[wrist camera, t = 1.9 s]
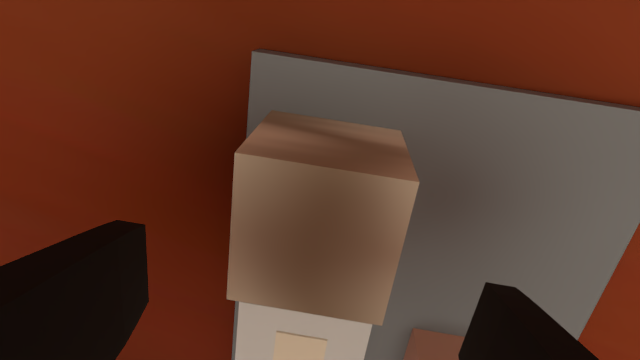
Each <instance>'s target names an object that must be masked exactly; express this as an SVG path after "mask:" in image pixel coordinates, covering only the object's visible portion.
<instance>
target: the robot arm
mask: <svg viewBox="0 0 640 360" xmlns="http://www.w3.org/2000/svg"><path fill="white" fill-rule="evenodd" d="M148 302H149V297H148V275H147V254H146V232H145V225H144V224H138V223H132V222H126V221H120V220H116V221H113V222H110V223H107V224H104V225H101V226H98V227H96V228H93V229H91V230H88V231H86V232H83V233H81V234H78V235H76V236H73V237H71V238H68V239H66V240H64V241H61V242H59V243H56V244H54V245H51V246H49V247H47V248H44V249H42V250H39V251H37V252H34V253H32V254H30V255H27V256H25V257H22V258H20V259H17V260H15V261H12V262H10V263H8V264H5V265H3V266H0V360H115V359H116V357H117V356H118V355H119V353H120V352H121V350H122V349H123V347H124V346H125V344H126V343H127V341H128V339H129V337H130V335H131V334H132V332H133V330H134V328H135V326H136V325H137V323H138V321H139V319H140V317H141V315H142V313H143V311H144V309H145V307H146V305H147V303H148ZM458 357H459V360H599V359H598V358H597V357H595V356H594V355H593V354H592V353H591V352H590V351H589V350H588V349H586V348H585V347H584V346H583V345H582V344H581V343H580V342H579V341H577V340H576V339H575V338H574V337H573V336H572V335H571V334H570V333H568V332H567V331H566V330H565V329H564V328H563V327H562V326H561V325H560V324H558V323H557V322H556V321H555V320H554V319H553V318H552V317H551V316H549V315H548V314H547V313H546V312H545V311H544V310H543V309H541V308H540V307H539V306H538V305H537V304H536V303H535V302H533V301H532V300H531V299H530V298H529V297H527V296H526V295H525V294H524V293H522V292H521V291H520V290H519V289H517V288H516V287H512V286H506V285H500V284H494V283H488V282H486V283H485V285H484V288H483V291H482V293H481V296H480V298H479V301H478V304H477V306H476V309H475V312H474V314H473V317H472V320H471V322H470V325H469V328H468V330H467V333H466V335H465V338H464V341H463V343H462V346H461V349H460V351H459V354H458Z"/></svg>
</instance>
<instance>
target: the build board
mask: <svg viewBox="0 0 640 360" xmlns="http://www.w3.org/2000/svg"><path fill="white" fill-rule="evenodd" d="M271 110H274V111H280V112H287V113H293V114H299V115H306V116H312V117H318V118H325V119H331V120H337V121H344V122H350V123H356V124H363V125H369V126H375V127H382V128H388V129H394V130H401V132H402V135H403V138H404V141H405V143H406V146H407V149H408V152H409V154H410V157H411V160H412V163H413V166H414V168H415V171H416V174H417V177H418V179H419V182H420V183H419V186H418V190H417V194H416V198H415V202H414V206H413V209H412V213H411V217H410V221H409V225H408V229H407V232H406V236H405V240H404V244H403V248H402V252H401V255H400V259H399V263H398V267H397V271H396V275H395V278H394V282H393V286H392V290H391V294H390V298H389V301H388V305H387V309H386V313H385V317H384V320H383V324H382V326H380V325H374V324H372V328H371V332H370V336H369V340H368V345H367V349H366V353H365V357H364V360H403V359H404V355H405V352H406V349H407V346H408V342H409V339H410V336H411V332H412V329H413V328H416V329H422V330H427V331H433V332H439V333H445V334H451V335H457V336H463V337H465V335H466V333H467V330H468V328H469V325H470V322H471V320H472V317H473V314H474V312H475V309H476V306H477V304H478V301H479V298H480V296H481V293H482V291H483V288H484V285H485V283H486V282H488V283H494V284H500V285H506V286H512V287H516V288H517V289H519V290H520V291H521V292H522V293H524V294H525V295H526V296H527V297H529V298H530V299H531V300H532V301H533V302H535V303H536V304H537V305H538V306H539V307H540V308H541V309H543V310H544V311H545V312H546V313H547V314H548V315H549V316H551V317H552V318H553V319H554V320H555V321H556V322H557V323H558V324H560V325H561V326H562V327H563V328H564V329H565V330H566V331H567V332H568V333H570V334H571V335H572V336H573V337H574V338H575V339H576V340H578V338H579V336H580V334H581V332H582V331H583V329H584V327H585V325H586V323H587V321H588V319H589V317H590V315H591V313H592V312H593V310H594V308H595V306H596V304H597V302H598V300H599V298H600V296H601V295H602V293H603V291H604V289H605V287H606V285H607V283H608V281H609V279H610V278H611V276H612V274H613V272H614V270H615V268H616V266H617V264H618V262H619V260H620V259H621V257H622V255H623V253H624V251H625V249H626V247H627V245H628V243H629V242H630V240H631V238H632V236H633V234H634V232H635V230H636V228H637V226H638V224H639V223H640V107H635V106H628V105H622V104H615V103H609V102H602V101H596V100H589V99H583V98H576V97H570V96H563V95H557V94H550V93H544V92H537V91H531V90H524V89H518V88H511V87H505V86H498V85H492V84H485V83H479V82H472V81H466V80H459V79H453V78H446V77H440V76H433V75H427V74H420V73H414V72H407V71H401V70H394V69H388V68H381V67H375V66H368V65H362V64H356V63H349V62H343V61H336V60H330V59H323V58H317V57H310V56H304V55H297V54H291V53H284V52H278V51H271V50H265V49H257V50H254V51H252V59H251V74H250V89H249V105H248V120H247V135H246V139H247V138H248V137H249V135H250V134H251V133H252V132H253V131H254V130H255V129H256V127H257V126H258V125H259V124H260V123H261V122H262V121H263V119H264V118H265V117H266V116H267V115H268V114H269V113H270V111H271ZM238 310H239V301H235V316H234V331H233V346H232V360H235V352H236V338H237V324H238Z"/></svg>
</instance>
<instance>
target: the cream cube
mask: <svg viewBox="0 0 640 360" xmlns="http://www.w3.org/2000/svg"><path fill="white" fill-rule="evenodd" d="M419 183H420V182H419V179H418V177H417V174H416V171H415V168H414V166H413V163H412V160H411V157H410V154H409V152H408V149H407V146H406V143H405V141H404V138H403V135H402V132H401V130H394V129H388V128H382V127H375V126H369V125H363V124H356V123H350V122H344V121H337V120H331V119H325V118H318V117H312V116H306V115H299V114H293V113H287V112H280V111H274V110H271V111H270V113H269V114H268V115H267V116H266V117H265V118H264V119H263V121H262V122H261V123H260V124H259V125H258V126H257V127H256V129H255V130H254V131H253V132H252V133H251V134H250V135H249V137H248V138H247V139H246V140H245V141H244V142H243V143H242V145H241V146H240V147H239V148H238V149H237V150H236V151H235V154H234V173H233V191H232V209H231V227H230V246H229V264H228V282H227V299H228V300H234V301H240V302H246V303H252V304H257V305H263V306H269V307H275V308H281V309H287V310H292V311H298V312H304V313H310V314H316V315H322V316H328V317H333V318H339V319H345V320H351V321H357V322H363V323H368V324H374V325H380V326H382V324H383V320H384V317H385V313H386V309H387V305H388V301H389V298H390V294H391V290H392V286H393V282H394V278H395V275H396V271H397V267H398V263H399V259H400V255H401V252H402V248H403V244H404V240H405V236H406V232H407V229H408V225H409V221H410V217H411V213H412V209H413V206H414V202H415V198H416V194H417V190H418V186H419Z"/></svg>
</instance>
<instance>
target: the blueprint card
mask: <svg viewBox="0 0 640 360" xmlns="http://www.w3.org/2000/svg"><path fill="white" fill-rule="evenodd" d="M371 328H372V324H368V323H363V322H357V321H351V320H345V319H339V318H333V317H328V316H322V315H316V314H310V313H304V312H298V311H292V310H287V309H281V308H275V307H269V306H263V305H257V304H252V303H246V302H240V301H239V310H238V324H237V338H236V352H235V360H364V357H365V353H366V349H367V345H368V340H369V336H370V332H371Z"/></svg>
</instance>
